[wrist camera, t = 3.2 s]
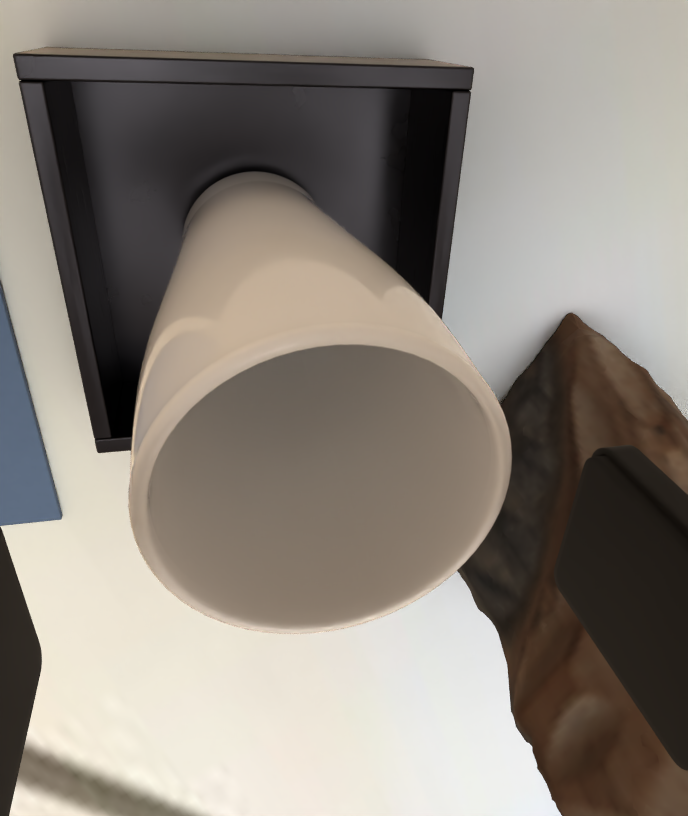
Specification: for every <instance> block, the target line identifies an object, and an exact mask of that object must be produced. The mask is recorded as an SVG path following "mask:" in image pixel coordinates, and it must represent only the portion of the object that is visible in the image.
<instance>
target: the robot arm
mask: <svg viewBox="0 0 688 816" xmlns="http://www.w3.org/2000/svg"><path fill="white" fill-rule="evenodd" d="M554 578H555V582H556V585H557V588H558V589H559V591H560V593H561V594H562V596H563V597H564V599H565V600H566V602H567V603H568V605H569V606H570V608H571V609H572V610H573V612H574V613H575V615H576V616H577V618H578V619H579V621H580V622H581V624H582V625H583V627H584V628H585V630H586V631H587V633H588V634H589V636H590V637H591V639H592V640H593V642H594V643H595V645H596V646H597V648H598V649H599V651H600V652H601V654H602V655H603V657H604V658H605V660H606V661H607V663H608V664H609V666H610V667H611V669H612V670H613V672H614V673H615V675H616V676H617V678H618V679H619V681H620V682H621V684H622V685H623V687H624V688H625V690H626V691H627V693H628V694H629V696H630V697H631V699H632V700H633V702H634V703H635V705H636V706H637V708H638V709H639V710H640V712H641V713H642V715H643V716H644V718H645V719H646V721H647V722H648V724H649V725H650V727H651V728H652V730H653V731H654V733H655V734H656V736H657V737H658V739H659V740H660V742H661V743H662V745H663V746H664V748H665V749H666V751H667V752H668V754H669V755H670V757H671V758H672V760H673V761H674V762H675V763H676V764H677V765H678V766H679V767H680V768H681V769H684V770H686V771H687V770H688V494H687V493H685V492H684V491H683V490H682V489H681V488H680V487H679V486H678V485H677V484H676V483H675V482H674V481H672V480H671V479H670V478H669V477H668V476H667V475H666V474H665V473H664V472H663V471H662V470H661V469H659V468H658V467H657V466H656V465H655V464H654V463H653V462H652V461H651V460H650V459H649V458H648V457H646V456H645V455H644V454H643V453H642V452H641V451H640V450H639V449H638V448H636V447H634V446H632V445H622V446H613V447H604V448H599V449H597V450H596V451H595V452H594V453H593V455H592V457H591V458H588V459H587V460H586V462H585V464H584V467H583V470H582V474H581V477H580V481H579V484H578V488H577V491H576V494H575V498H574V501H573V505H572V508H571V512H570V515H569V519H568V522H567V526H566V529H565V533H564V536H563V539H562V543H561V546H560V550H559V553H558V557H557V560H556V564H555V567H554ZM41 664H42V654H41V647H40V643H39V640H38V637H37V634H36V631H35V628H34V625H33V622H32V619H31V616H30V613H29V610H28V607H27V604H26V601H25V598H24V595H23V592H22V589H21V586H20V583H19V580H18V577H17V574H16V571H15V568H14V565H13V562H12V559H11V556H10V553H9V550H8V547H7V544H6V541H5V538H4V535H3V532H2V529H1V527H0V816H9V813H10V808H11V804H12V799H13V795H14V790H15V786H16V781H17V777H18V772H19V768H20V763H21V758H22V754H23V749H24V745H25V740H26V736H27V731H28V727H29V722H30V718H31V713H32V709H33V704H34V699H35V695H36V690H37V686H38V681H39V677H40V672H41Z"/></svg>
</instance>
